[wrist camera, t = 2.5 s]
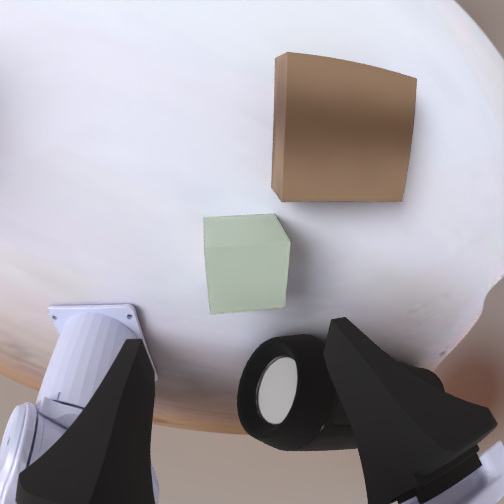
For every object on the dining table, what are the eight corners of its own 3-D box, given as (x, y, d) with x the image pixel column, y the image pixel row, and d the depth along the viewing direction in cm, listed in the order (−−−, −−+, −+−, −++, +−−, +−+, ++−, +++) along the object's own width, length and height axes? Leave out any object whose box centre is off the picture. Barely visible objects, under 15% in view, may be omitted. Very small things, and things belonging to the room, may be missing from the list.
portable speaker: (429, 354, 32) (464, 408, 24) (379, 398, 36) (405, 452, 27) (287, 300, 23) (329, 409, 14) (225, 372, 26) (239, 467, 18)
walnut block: (378, 186, 19) (401, 201, 17) (269, 185, 18) (281, 202, 15) (389, 77, 15) (416, 78, 13) (273, 59, 14) (287, 52, 11)
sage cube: (271, 271, 21) (284, 307, 18) (208, 276, 20) (210, 314, 17) (273, 213, 19) (290, 241, 15) (203, 216, 18) (203, 247, 15)
